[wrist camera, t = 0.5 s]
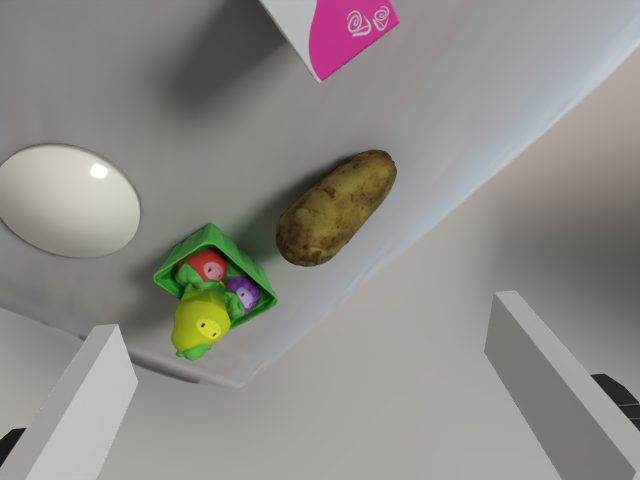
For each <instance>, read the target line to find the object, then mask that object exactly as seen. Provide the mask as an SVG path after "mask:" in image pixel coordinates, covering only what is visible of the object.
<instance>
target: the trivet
mask: <svg viewBox="0 0 640 480" xmlns="http://www.w3.org/2000/svg"><path fill="white" fill-rule="evenodd" d="M0 217H1V219H2V220H3V221H4V222H5V223H6V225H7V226H8V227H9V228H10V229H11V230H12V231H13V232H15V233H16V234H17V235H18V236H20V237H21V238H22V239H24V240H25V241H27V242H29V243H30V244H32V245H34V246H36V247H38V248H40V249H43V250H45V251H48V252H51V253H54V254H58V255H62V256H67V257H75V258H93V257H100V256H104V255H108V254H111V253H113V252H115V251H118V250H119V249H121V248H122V247H124V246H125V245H126V244H127V243H129V241H130V240H131V239H132V238H133V236H134V234H135V233H136V230H137V228H138V225H139V222H140V218H141V202H140V198H139V195H138V193H137V191H136V189H135V187H134V185H133V184H132V182H131V181H130V179H129V178H128V177H127V176H126V175H125V174H124V173H123V172H122V171H121V170H120V169H119V168H118V167H117V166H115V165H114V164H113V163H111V162H110V161H109V160H107V159H105V158H104V157H102V156H100V155H98V154H96V153H94V152H92V151H89V150H86V149H84V148H80V147H77V146H73V145H67V144H60V143H44V144H37V145H32V146H29V147H26V148H23V149H21V150H19V151H17V152H15V153H14V154H13V155H11V156H10V157H9V158H8V159H7V160H6V161H5V162H4V163H3V164H2V166H1V167H0Z"/></svg>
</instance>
